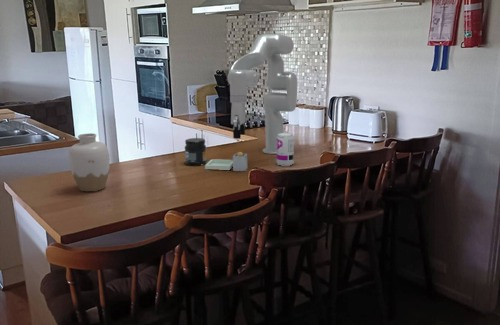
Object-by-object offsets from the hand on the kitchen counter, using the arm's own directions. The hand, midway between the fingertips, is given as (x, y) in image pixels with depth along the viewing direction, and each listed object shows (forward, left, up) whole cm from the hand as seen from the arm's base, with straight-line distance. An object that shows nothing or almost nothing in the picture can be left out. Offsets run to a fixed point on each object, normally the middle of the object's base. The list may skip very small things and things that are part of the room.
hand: (239, 136), depth 222 cm
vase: (+36, -55, -16) cm, 68 cm away
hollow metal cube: (0, 0, -16) cm, 16 cm away
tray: (-4, -10, -16) cm, 20 cm away
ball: (0, 0, -9) cm, 9 cm away
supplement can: (-13, +20, -16) cm, 29 cm away
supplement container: (-10, -24, -16) cm, 31 cm away
